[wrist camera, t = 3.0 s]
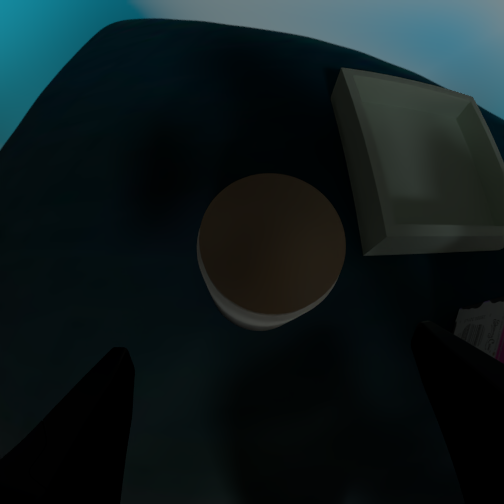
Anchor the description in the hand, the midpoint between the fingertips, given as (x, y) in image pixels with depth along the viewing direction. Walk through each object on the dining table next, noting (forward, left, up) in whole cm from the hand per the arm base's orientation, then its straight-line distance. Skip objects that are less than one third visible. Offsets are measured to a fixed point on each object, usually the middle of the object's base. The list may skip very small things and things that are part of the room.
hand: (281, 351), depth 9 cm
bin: (+13, -15, -11) cm, 23 cm away
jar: (+4, 0, -11) cm, 12 cm away
